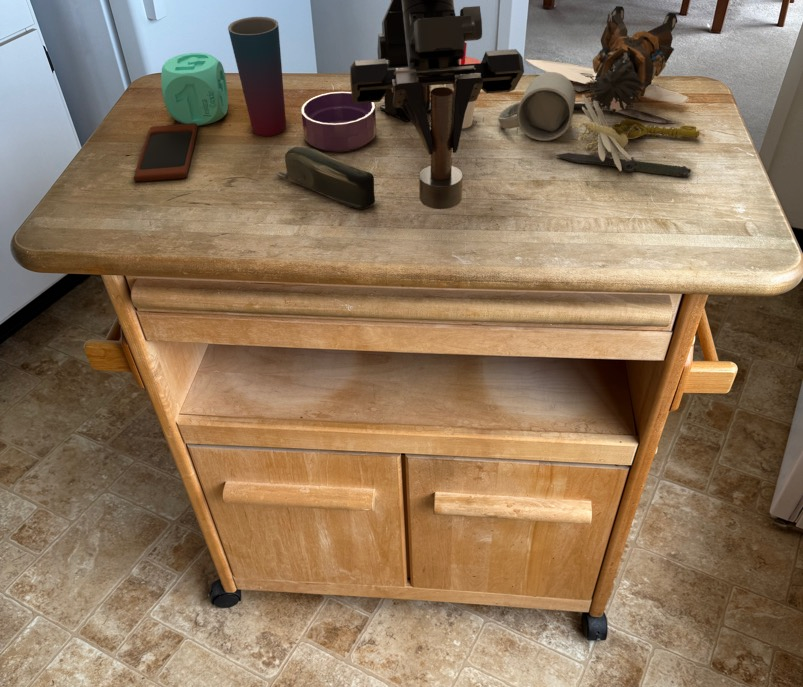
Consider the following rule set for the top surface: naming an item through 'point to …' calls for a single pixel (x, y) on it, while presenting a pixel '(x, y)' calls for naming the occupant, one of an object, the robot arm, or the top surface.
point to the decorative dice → (194, 88)
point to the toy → (603, 134)
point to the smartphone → (166, 152)
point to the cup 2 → (471, 105)
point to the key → (653, 130)
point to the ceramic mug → (542, 108)
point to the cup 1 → (260, 72)
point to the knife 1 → (576, 75)
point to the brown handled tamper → (441, 157)
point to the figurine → (629, 61)
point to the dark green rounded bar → (329, 177)
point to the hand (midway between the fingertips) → (443, 152)
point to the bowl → (338, 122)
